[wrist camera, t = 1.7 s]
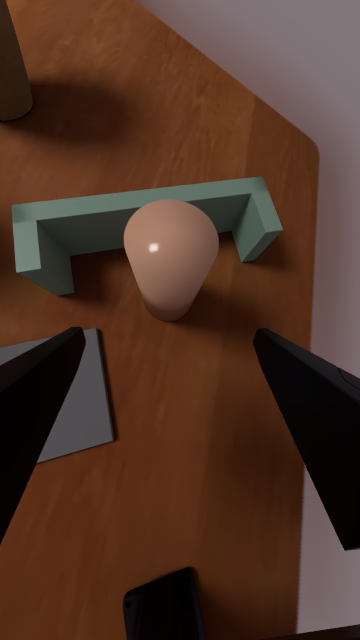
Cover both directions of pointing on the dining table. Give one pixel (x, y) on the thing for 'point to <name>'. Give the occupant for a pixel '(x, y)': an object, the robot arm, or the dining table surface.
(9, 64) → the plant pot
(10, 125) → the dining table surface
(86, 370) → the mat
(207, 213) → the green bracket handle
